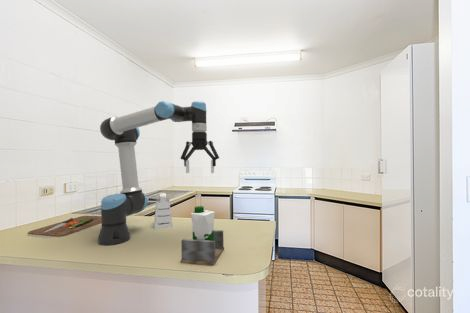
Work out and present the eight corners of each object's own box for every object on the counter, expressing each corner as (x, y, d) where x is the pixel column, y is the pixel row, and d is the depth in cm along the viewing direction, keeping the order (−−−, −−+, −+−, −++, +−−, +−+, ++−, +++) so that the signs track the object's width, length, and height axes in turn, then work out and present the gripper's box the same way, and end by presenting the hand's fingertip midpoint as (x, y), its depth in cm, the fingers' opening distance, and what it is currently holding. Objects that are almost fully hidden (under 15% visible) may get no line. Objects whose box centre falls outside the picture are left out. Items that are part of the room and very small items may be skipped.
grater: (171, 222, 160) (170, 192, 159) (172, 227, 150) (172, 194, 150) (154, 224, 156) (153, 193, 156) (154, 229, 146) (154, 195, 146)
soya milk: (202, 248, 113) (201, 204, 113) (217, 251, 108) (217, 206, 108) (189, 254, 105) (188, 208, 105) (205, 259, 100) (204, 210, 100)
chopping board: (57, 239, 132) (57, 233, 132) (20, 236, 138) (20, 230, 138) (117, 218, 175) (116, 213, 175) (86, 216, 182) (86, 212, 182)
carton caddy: (180, 262, 100) (180, 241, 100) (195, 247, 116) (195, 228, 116) (213, 265, 97) (213, 243, 97) (224, 249, 114) (223, 229, 113)
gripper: (173, 132, 125) (174, 173, 125) (220, 130, 120) (221, 173, 120) (179, 133, 132) (180, 172, 133) (224, 131, 127) (225, 172, 128)
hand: (200, 172), depth 126 cm, fingers open, 13 cm apart
